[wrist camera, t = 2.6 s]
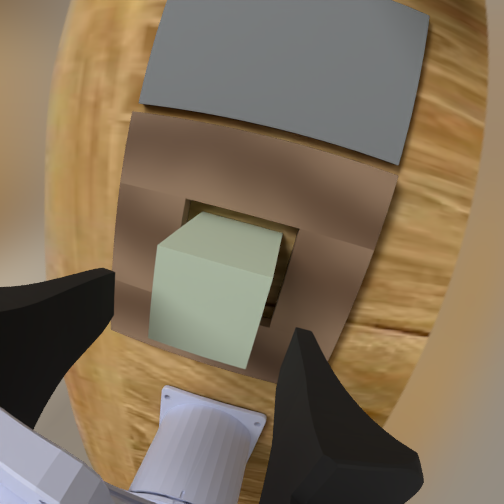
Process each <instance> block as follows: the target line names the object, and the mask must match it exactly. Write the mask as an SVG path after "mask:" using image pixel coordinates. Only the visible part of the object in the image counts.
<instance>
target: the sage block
mask: <svg viewBox="0 0 504 504" xmlns="http://www.w3.org/2000/svg"><path fill="white" fill-rule="evenodd" d="M282 234H283V233H281V232H277V231H274V230H270V229H266V228H263V227H259V226H255V225H252V224H248V223H244V222H240V221H237V220H233V219H229V218H226V217H222V216H218V215H214V214H210V213H207V212H203V211H202V212H201V213H200V214H198V215H197V216H196V217H194V218H193V219H191V220H190V221H189V222H187V223H186V224H185V225H183V226H182V227H181V228H179V229H178V230H177V231H175V232H174V233H173V234H171V235H170V236H169V237H167V238H166V239H165V240H163V241H162V242H161V243H160V244H158V245H157V253H156V261H155V269H154V278H153V287H152V297H151V308H150V319H149V332H148V338H149V339H152V340H155V341H158V342H160V343H163V344H166V345H169V346H172V347H175V348H178V349H181V350H184V351H187V352H190V353H193V354H196V355H199V356H202V357H205V358H209V359H212V360H215V361H218V362H222V363H225V364H229V365H232V366H235V367H239V368H243V369H246V366H247V363H248V359H249V356H250V353H251V350H252V346H253V343H254V340H255V337H256V333H257V330H258V327H259V323H260V320H261V317H262V313H263V310H264V307H265V303H266V300H267V297H268V293H269V290H270V286H271V283H272V280H273V276H274V271H275V266H276V262H277V257H278V253H279V248H280V243H281V238H282Z"/></svg>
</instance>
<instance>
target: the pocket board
mask: <svg viewBox="0 0 504 504" xmlns="http://www.w3.org/2000/svg"><path fill="white" fill-rule="evenodd" d="M397 179H398V175H395V174H392V173H390V172H387V171H384V170H381V169H378V168H375V167H372V166H369V165H366V164H363V163H360V162H357V161H354V160H351V159H348V158H345V157H341V156H338V155H335V154H331V153H328V152H325V151H321V150H318V149H314V148H311V147H307V146H303V145H300V144H296V143H292V142H289V141H285V140H281V139H277V138H273V137H269V136H265V135H260V134H256V133H252V132H247V131H243V130H238V129H234V128H229V127H224V126H219V125H214V124H209V123H204V122H198V121H193V120H187V119H181V118H175V117H169V116H162V115H156V114H149V113H141V112H133V111H132V116H131V121H130V126H129V132H128V137H127V143H126V149H125V155H124V161H123V168H122V174H121V182H120V189H119V197H118V206H117V215H116V226H115V237H114V250H113V267H112V271H114V272H115V295H114V316H113V317H112V319H111V330H113V331H116V332H118V333H121V334H123V335H126V336H128V337H131V338H133V339H136V340H139V341H141V342H144V343H147V344H149V345H152V346H155V347H158V348H160V349H163V350H166V351H169V352H172V353H175V354H178V355H181V356H184V357H187V358H190V359H193V360H196V361H199V362H202V363H205V364H208V365H212V366H215V367H218V368H222V369H225V370H228V371H232V372H235V373H239V374H242V375H246V376H250V377H253V378H257V379H261V380H265V381H269V382H273V383H277V382H278V377H279V372H280V367H281V365H282V362H283V360H284V357H285V354H286V352H287V349H288V347H289V344H290V341H291V339H292V336H293V333H294V331H295V328H296V327H298V328H302V329H306V330H310V331H312V332H313V334H314V336H315V338H316V340H317V342H318V344H319V346H320V348H321V350H322V352H323V354H324V356H325V358H326V360H327V362H328V360H329V358H330V356H331V354H332V351H333V349H334V347H335V345H336V343H337V340H338V338H339V336H340V334H341V331H342V329H343V327H344V325H345V322H346V320H347V318H348V315H349V313H350V311H351V308H352V306H353V303H354V301H355V299H356V296H357V294H358V291H359V289H360V286H361V284H362V281H363V279H364V276H365V273H366V271H367V268H368V265H369V263H370V260H371V257H372V255H373V252H374V249H375V246H376V244H377V241H378V238H379V235H380V232H381V229H382V226H383V223H384V220H385V217H386V214H387V211H388V208H389V205H390V202H391V199H392V196H393V192H394V189H395V186H396V183H397ZM191 200H194V201H198V202H202V203H206V204H210V205H214V206H217V207H221V208H225V209H229V210H233V211H237V212H240V213H244V214H248V215H252V216H255V217H259V218H263V219H266V220H270V221H274V222H277V223H281V224H285V225H288V226H292V227H295V228H299V229H298V233H297V236H296V239H295V243H294V246H293V250H292V253H291V256H290V260H289V263H288V266H287V270H286V273H285V276H284V279H283V283H282V286H281V289H280V292H279V296H278V299H277V302H276V305H275V308H274V312H273V315H272V318H271V319H269V318H266V317H261V320H260V323H259V327H258V330H257V333H256V337H255V340H254V343H253V346H252V350H251V353H250V356H249V359H248V363H247V366H246V369H243V368H239V367H235V366H232V365H229V364H225V363H222V362H218V361H215V360H212V359H209V358H205V357H202V356H199V355H196V354H193V353H190V352H187V351H184V350H181V349H178V348H175V347H172V346H169V345H166V344H163V343H160V342H158V341H155V340H152V339H149V338H148V332H149V319H150V308H151V297H152V287H153V278H154V269H155V261H156V253H157V245H158V244H160V243H161V242H162V241H163V240H165V239H166V238H167V237H169V236H170V235H171V234H173V233H174V232H175V231H177V230H178V229H179V228H181V227H182V226H183V225H185V224H186V223H187V219H188V213H189V208H190V202H191Z"/></svg>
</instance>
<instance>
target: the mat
mask: <svg viewBox="0 0 504 504" xmlns="http://www.w3.org/2000/svg"><path fill="white" fill-rule="evenodd" d="M428 24H429V15H427V14H424V13H422V12H420V11H417V10H415V9H412V8H410V7H408V6H405V5H402V4H400V3H397V2H395V1H392V0H167V2H166V5H165V8H164V11H163V14H162V18H161V21H160V24H159V27H158V30H157V34H156V37H155V41H154V44H153V48H152V51H151V55H150V58H149V62H148V66H147V70H146V74H145V78H144V82H143V86H142V91H141V95H140V99H139V103H140V104H147V105H155V106H162V107H169V108H176V109H182V110H189V111H195V112H200V113H206V114H211V115H217V116H222V117H227V118H232V119H237V120H241V121H246V122H251V123H255V124H260V125H264V126H268V127H272V128H276V129H280V130H284V131H288V132H292V133H296V134H300V135H303V136H307V137H311V138H314V139H318V140H321V141H325V142H328V143H332V144H335V145H338V146H341V147H345V148H348V149H351V150H354V151H357V152H360V153H363V154H366V155H369V156H372V157H375V158H378V159H381V160H384V161H387V162H389V163H392V164H395V165H399V162H400V158H401V154H402V151H403V147H404V143H405V139H406V135H407V131H408V127H409V123H410V119H411V115H412V111H413V106H414V102H415V97H416V92H417V88H418V83H419V78H420V73H421V67H422V62H423V56H424V50H425V44H426V38H427V31H428Z"/></svg>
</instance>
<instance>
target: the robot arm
mask: <svg viewBox="0 0 504 504" xmlns="http://www.w3.org/2000/svg"><path fill="white" fill-rule="evenodd" d="M114 295H115V272H114V271H111V270H108V269H105V268H98V269H93V270H88V271H84V272H81V273H77V274H73V275H69V276H65V277H62V278H57V279H53V280H49V281H44V282H40V283H35V284H29V285H21V286H13V287H0V504H237V503H238V498H239V494H240V489H241V485H242V480H243V476H244V471H245V466H246V463H247V461H248V459H249V457H250V455H251V453H252V451H253V449H254V447H255V445H256V442H257V440H258V438H259V436H260V434H261V432H262V429H263V427H264V425H265V423H266V418H267V417H266V415H264V414H262V413H259V412H255V411H251V410H247V409H243V408H240V407H236V406H232V405H229V404H225V403H222V402H218V401H215V400H212V399H208V398H205V397H202V396H199V395H196V394H193V393H190V392H187V391H184V390H181V389H178V388H175V387H172V386H169V385H166V386H164V387H163V389H162V396H161V409H160V423H159V429H158V431H157V433H156V435H155V437H154V439H153V441H152V443H151V445H150V447H149V449H148V451H147V454H146V456H145V458H144V460H143V462H142V464H141V466H140V468H139V470H138V472H137V474H136V476H135V478H134V480H133V482H132V484H131V486H130V488H129V490H128V491H126V490H124V489H120V488H118V487H115V486H113V485H111V484H109V483H107V482H105V481H103V480H102V478H101V477H100V475H98V474H97V473H96V472H95V471H94V470H93V469H91V468H90V467H89V466H88V465H87V464H86V463H84V462H83V461H82V460H80V459H79V458H77V457H75V456H74V455H72V454H71V453H69V452H68V451H66V450H65V449H63V448H62V447H60V446H58V445H57V444H55V443H53V442H52V441H50V440H48V439H47V438H45V437H43V436H42V435H40V434H38V433H37V432H36V431H34V430H33V429H34V427H35V425H36V423H37V421H38V418H39V417H40V415H41V413H42V411H43V409H44V407H45V406H46V404H47V402H48V400H49V399H50V397H51V395H52V394H53V392H54V391H55V389H56V387H57V386H58V384H59V383H60V381H61V380H62V378H63V377H64V375H65V374H66V373H67V371H68V370H69V369H70V368H71V366H72V365H73V364H74V363H75V362H76V361H77V360H78V359H79V358H80V357H81V355H82V354H83V353H84V352H85V351H86V350H87V349H88V348H89V347H90V346H91V345H92V343H93V342H94V341H95V340H96V339H97V338H98V337H99V336H100V335H101V333H102V332H103V331H104V329H105V328H106V326H107V325H108V324H109V322H110V320H111V319H112V317H113V316H114ZM257 422H259V423H257ZM423 483H424V479H423V473H422V468H421V464H420V460H419V457H418V454H417V453H416V452H415V451H413V450H412V449H410V448H409V447H407V446H406V445H404V444H402V443H401V442H399V441H398V440H396V439H395V438H394V437H392V436H391V435H390V434H389V433H387V432H386V431H385V430H384V429H382V428H381V427H380V426H379V425H378V424H377V423H376V422H374V421H373V420H372V419H371V418H370V417H369V416H368V415H367V414H366V413H365V412H364V411H363V410H362V409H361V408H360V407H359V405H358V404H357V403H356V402H355V401H354V400H353V398H352V397H351V396H350V395H349V393H348V392H347V391H346V390H345V388H344V387H343V386H342V384H341V383H340V381H339V380H338V378H337V377H336V375H335V374H334V372H333V370H332V369H331V367H330V365H329V363H328V362H327V360H326V358H325V356H324V354H323V352H322V350H321V348H320V346H319V344H318V342H317V340H316V338H315V336H314V334H313V332H312V331H310V330H306V329H302V328H298V327H296V328H295V331H294V333H293V336H292V339H291V341H290V344H289V347H288V349H287V352H286V354H285V357H284V360H283V362H282V365H281V367H280V372H279V377H278V382H277V387H276V396H275V412H274V427H273V440H272V448H271V453H270V458H269V463H268V468H267V472H266V477H265V481H264V485H263V490H262V494H261V498H260V502H259V504H404V503H405V502H407V501H408V500H409V499H410V498H411V497H413V496H414V495H415V494H416V493H417V492H418V491H419V490H420V488H421V487H422V485H423Z"/></svg>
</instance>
